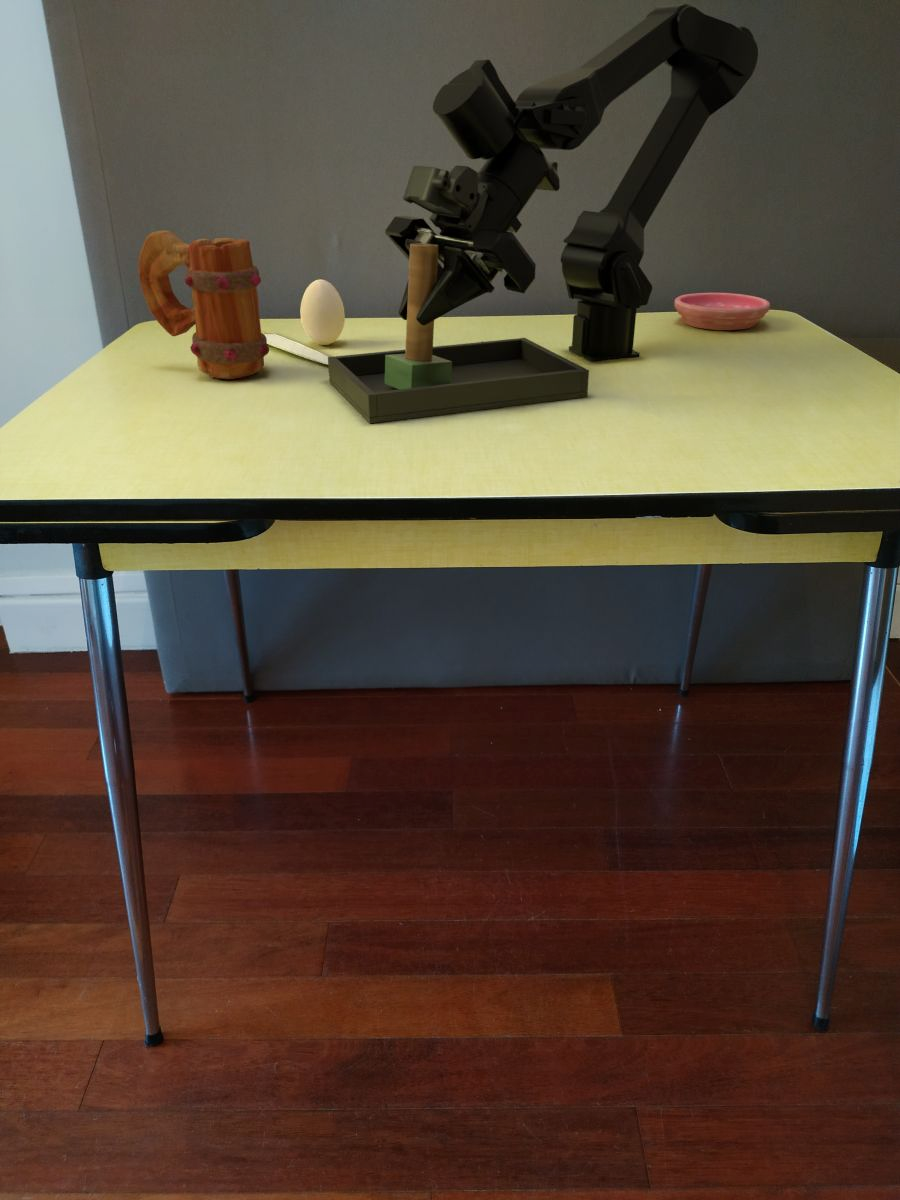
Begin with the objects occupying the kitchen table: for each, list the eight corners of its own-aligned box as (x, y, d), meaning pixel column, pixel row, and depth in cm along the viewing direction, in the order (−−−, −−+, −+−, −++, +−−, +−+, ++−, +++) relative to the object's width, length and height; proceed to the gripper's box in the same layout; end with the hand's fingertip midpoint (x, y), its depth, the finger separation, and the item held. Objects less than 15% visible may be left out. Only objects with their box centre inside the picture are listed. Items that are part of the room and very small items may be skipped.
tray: (524, 361, 107) (524, 337, 106) (587, 396, 95) (589, 370, 93) (329, 382, 100) (327, 356, 99) (369, 423, 87) (368, 395, 86)
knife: (362, 373, 107) (327, 374, 104) (227, 321, 129) (195, 320, 126) (363, 362, 106) (328, 363, 103) (227, 311, 129) (195, 311, 126)
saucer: (669, 313, 131) (671, 290, 129) (758, 315, 129) (762, 292, 127) (676, 332, 120) (678, 308, 118) (773, 335, 118) (777, 310, 117)
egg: (351, 340, 117) (347, 276, 113) (339, 350, 113) (335, 284, 109) (310, 339, 118) (305, 275, 114) (297, 349, 113) (291, 283, 110)
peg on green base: (423, 380, 98) (430, 242, 92) (450, 390, 95) (459, 247, 89) (384, 383, 96) (389, 241, 90) (410, 394, 92) (417, 247, 86)
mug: (287, 368, 105) (274, 229, 98) (252, 387, 99) (235, 239, 91) (179, 358, 110) (159, 224, 102) (138, 376, 103) (113, 234, 96)
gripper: (398, 130, 93) (310, 254, 92) (517, 134, 80) (416, 279, 79) (458, 208, 101) (378, 323, 100) (576, 225, 88) (485, 356, 87)
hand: (410, 319), depth 92 cm, fingers closed on peg on green base, 3 cm apart
